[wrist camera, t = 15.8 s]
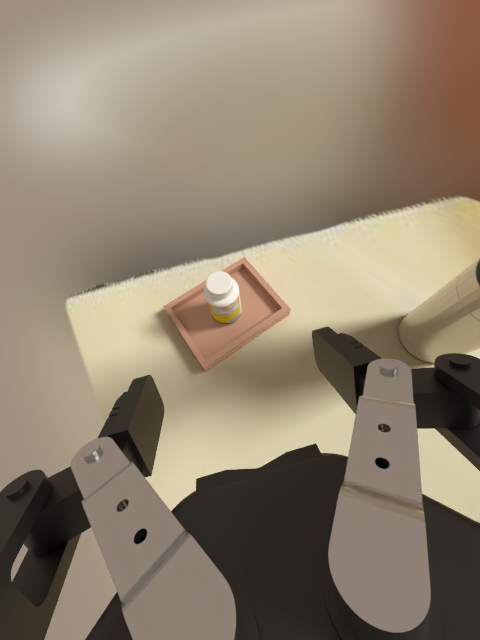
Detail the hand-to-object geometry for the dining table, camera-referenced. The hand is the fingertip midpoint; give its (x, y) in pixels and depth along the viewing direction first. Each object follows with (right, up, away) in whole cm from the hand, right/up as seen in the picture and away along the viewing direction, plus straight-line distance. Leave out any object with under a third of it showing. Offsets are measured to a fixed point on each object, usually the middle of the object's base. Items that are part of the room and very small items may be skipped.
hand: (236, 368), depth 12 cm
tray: (-2, +4, +35) cm, 36 cm away
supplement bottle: (-2, +4, +35) cm, 35 cm away
